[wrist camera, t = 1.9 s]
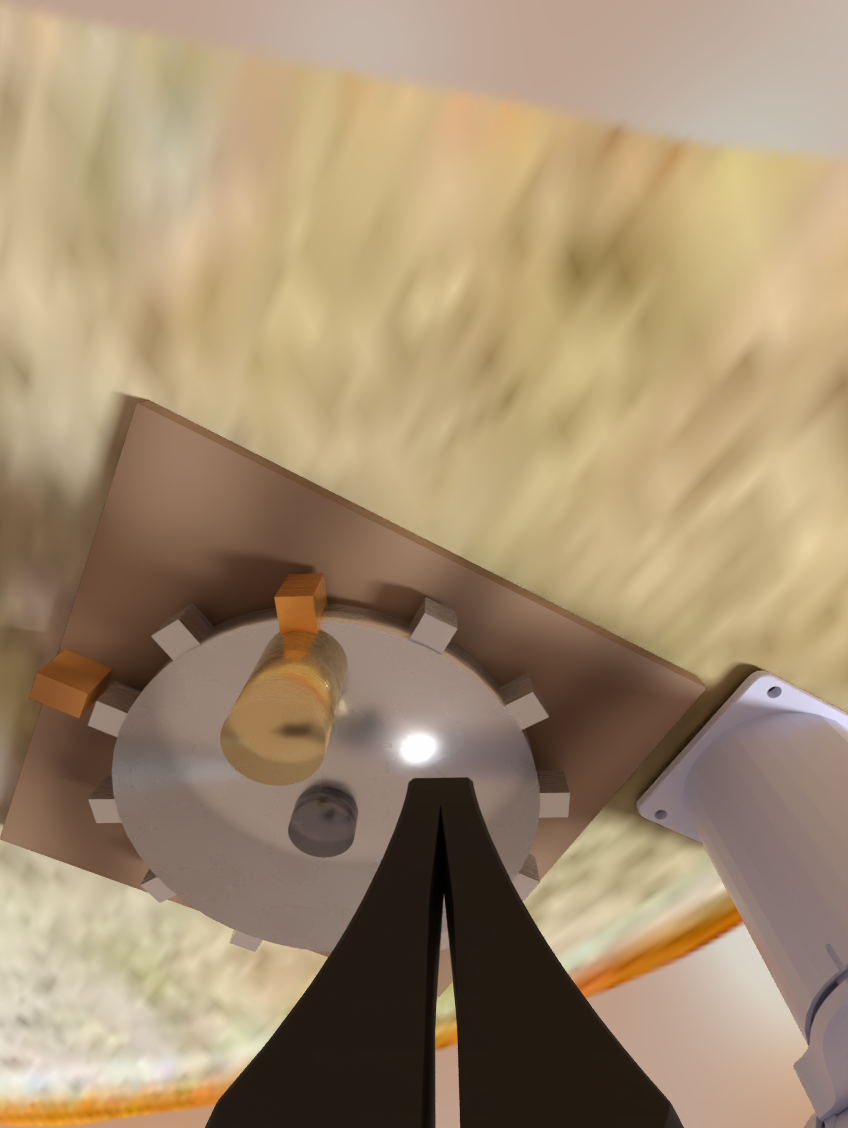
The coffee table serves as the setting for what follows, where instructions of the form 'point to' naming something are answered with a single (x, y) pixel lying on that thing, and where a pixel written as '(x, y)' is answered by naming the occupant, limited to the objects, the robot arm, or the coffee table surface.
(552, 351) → the coffee table surface
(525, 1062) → the robot arm
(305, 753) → the sprocket wheel
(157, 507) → the walnut board
